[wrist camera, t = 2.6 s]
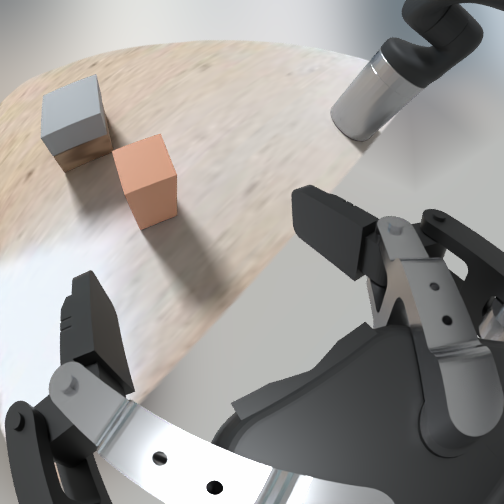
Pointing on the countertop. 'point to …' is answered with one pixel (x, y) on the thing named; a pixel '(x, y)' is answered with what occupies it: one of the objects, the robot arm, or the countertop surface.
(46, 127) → the tower top slab
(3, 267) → the countertop surface
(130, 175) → the pillar
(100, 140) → the tower bottom slab
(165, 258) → the countertop surface
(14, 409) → the robot arm
